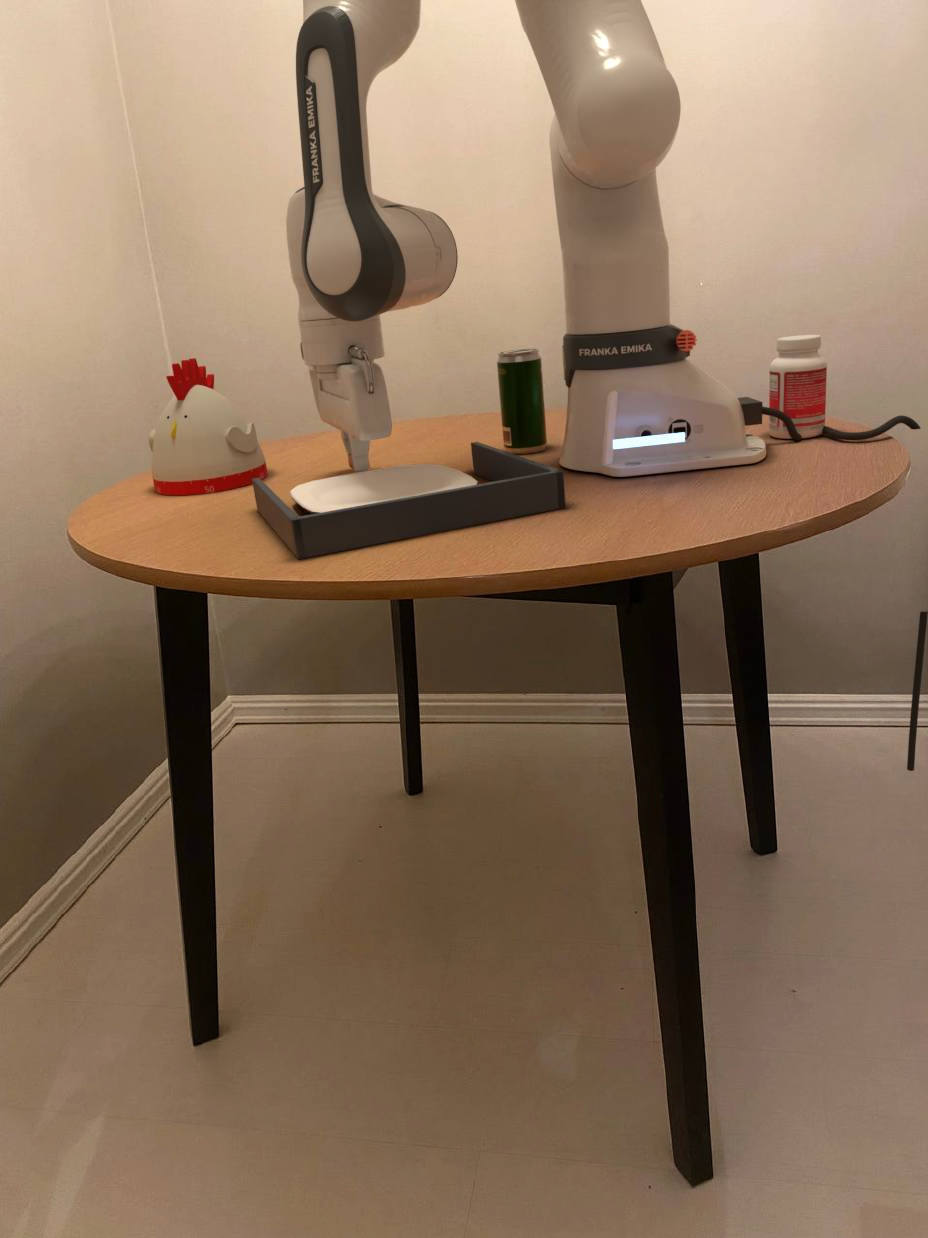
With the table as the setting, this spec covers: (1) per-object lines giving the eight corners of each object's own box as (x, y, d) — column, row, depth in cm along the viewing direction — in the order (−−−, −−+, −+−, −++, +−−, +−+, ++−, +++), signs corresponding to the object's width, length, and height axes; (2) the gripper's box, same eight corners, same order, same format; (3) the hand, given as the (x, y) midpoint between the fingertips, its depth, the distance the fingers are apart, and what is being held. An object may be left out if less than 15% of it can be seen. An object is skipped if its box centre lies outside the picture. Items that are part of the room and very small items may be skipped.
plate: (282, 499, 104) (279, 484, 103) (435, 472, 109) (433, 458, 109) (319, 534, 88) (316, 516, 87) (496, 501, 93) (494, 484, 93)
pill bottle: (835, 432, 109) (839, 333, 105) (803, 441, 106) (805, 340, 102) (790, 428, 114) (792, 333, 110) (757, 437, 110) (758, 340, 107)
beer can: (521, 456, 114) (513, 354, 110) (495, 451, 118) (487, 353, 114) (556, 448, 116) (549, 348, 112) (529, 444, 121) (522, 348, 117)
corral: (257, 511, 100) (251, 478, 99) (479, 472, 107) (477, 441, 106) (298, 559, 80) (291, 519, 79) (565, 507, 88) (563, 470, 87)
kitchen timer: (131, 495, 114) (103, 369, 109) (198, 470, 126) (175, 356, 121) (227, 494, 110) (203, 362, 104) (287, 468, 121) (268, 349, 116)
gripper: (397, 344, 94) (413, 480, 99) (348, 338, 112) (363, 453, 117) (336, 352, 92) (355, 489, 97) (296, 344, 111) (314, 460, 115)
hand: (359, 469), depth 107 cm, fingers closed
